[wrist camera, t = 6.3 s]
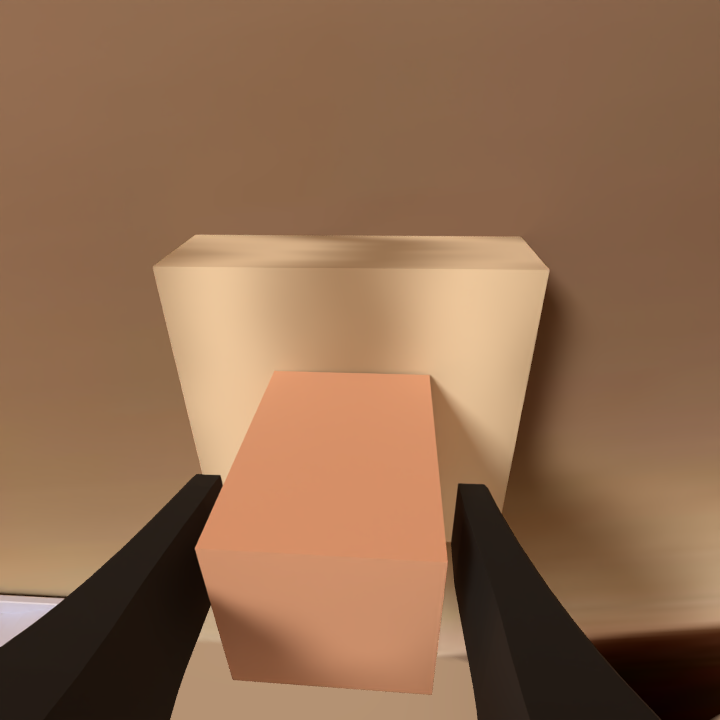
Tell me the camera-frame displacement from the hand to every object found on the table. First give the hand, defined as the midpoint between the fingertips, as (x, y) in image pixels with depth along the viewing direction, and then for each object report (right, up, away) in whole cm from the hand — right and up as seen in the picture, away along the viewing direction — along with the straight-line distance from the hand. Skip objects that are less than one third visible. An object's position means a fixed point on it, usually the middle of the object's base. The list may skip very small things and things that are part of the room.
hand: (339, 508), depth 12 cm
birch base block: (0, +3, +6) cm, 7 cm away
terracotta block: (0, +1, +3) cm, 3 cm away
